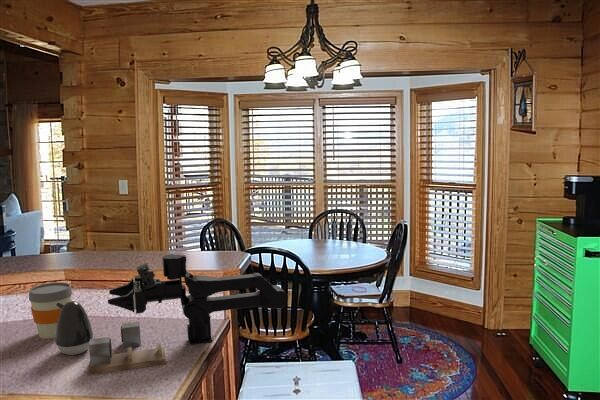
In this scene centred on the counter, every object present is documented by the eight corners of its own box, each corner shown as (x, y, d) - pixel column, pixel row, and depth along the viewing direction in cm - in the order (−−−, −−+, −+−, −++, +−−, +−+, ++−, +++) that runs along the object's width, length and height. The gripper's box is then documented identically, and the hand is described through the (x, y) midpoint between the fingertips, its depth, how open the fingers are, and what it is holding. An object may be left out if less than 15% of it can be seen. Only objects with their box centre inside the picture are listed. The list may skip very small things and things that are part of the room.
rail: (164, 352, 156) (162, 327, 155) (166, 363, 148) (164, 337, 147) (90, 362, 150) (88, 337, 149) (88, 375, 143) (86, 348, 142)
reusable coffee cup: (83, 330, 175) (79, 285, 173) (47, 343, 164) (43, 296, 162) (60, 323, 182) (56, 280, 180) (24, 336, 171) (19, 290, 169)
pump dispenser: (73, 342, 165) (69, 294, 163) (101, 346, 161) (97, 297, 159) (48, 356, 155) (43, 305, 153) (77, 360, 152) (72, 308, 150)
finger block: (140, 340, 165) (139, 321, 165) (140, 345, 162) (139, 326, 161) (122, 342, 164) (120, 323, 163) (121, 347, 160) (120, 328, 159)
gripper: (161, 257, 167) (108, 261, 163) (164, 272, 150) (104, 278, 145) (163, 291, 169) (110, 297, 165) (166, 310, 151) (107, 317, 147)
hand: (108, 296), depth 155 cm, fingers open, 9 cm apart
